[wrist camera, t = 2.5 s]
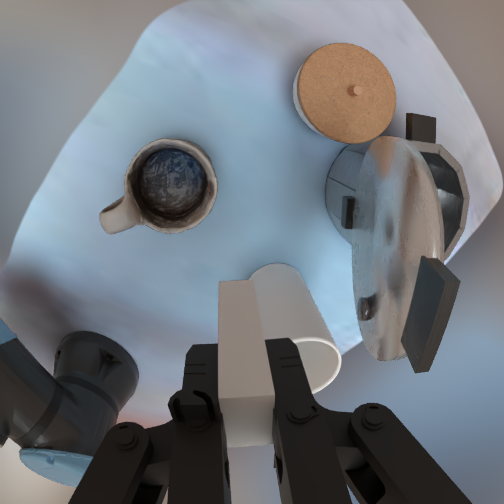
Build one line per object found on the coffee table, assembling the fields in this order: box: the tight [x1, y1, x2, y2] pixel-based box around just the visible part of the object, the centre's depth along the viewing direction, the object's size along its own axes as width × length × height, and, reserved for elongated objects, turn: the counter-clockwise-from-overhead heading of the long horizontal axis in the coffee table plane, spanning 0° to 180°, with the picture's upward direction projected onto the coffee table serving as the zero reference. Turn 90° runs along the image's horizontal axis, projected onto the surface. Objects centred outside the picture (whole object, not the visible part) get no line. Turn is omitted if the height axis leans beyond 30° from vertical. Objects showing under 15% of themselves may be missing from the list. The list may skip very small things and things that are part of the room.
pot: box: [325, 113, 470, 261], centre depth 33 cm, size 16×21×10 cm
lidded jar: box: [293, 43, 396, 144], centre depth 29 cm, size 11×11×9 cm
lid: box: [352, 136, 460, 373], centre depth 19 cm, size 17×15×2 cm
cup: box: [249, 263, 341, 394], centre depth 35 cm, size 8×8×16 cm
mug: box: [99, 138, 218, 234], centre depth 31 cm, size 10×12×10 cm
